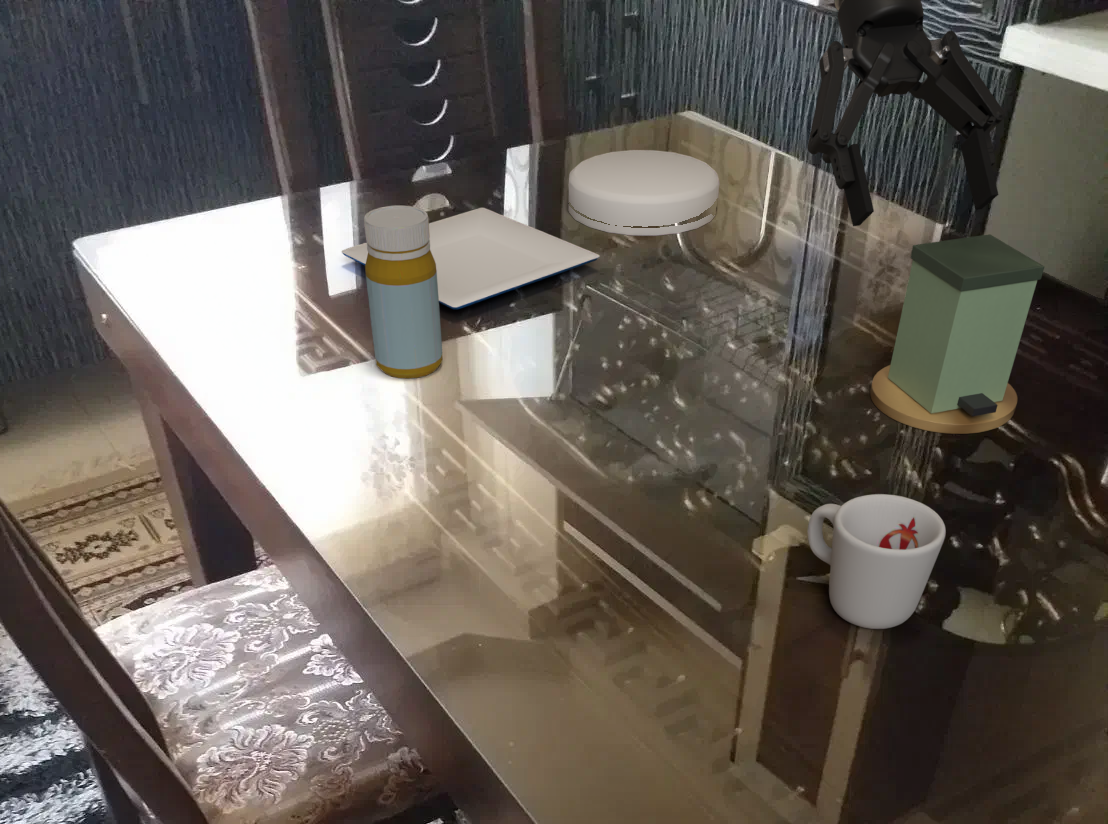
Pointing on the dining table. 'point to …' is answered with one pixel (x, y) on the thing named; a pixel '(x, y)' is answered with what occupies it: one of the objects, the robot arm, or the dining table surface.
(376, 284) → the bottle
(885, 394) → the disc
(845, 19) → the robot arm
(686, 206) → the container
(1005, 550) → the dining table surface
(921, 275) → the bin
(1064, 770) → the dining table surface
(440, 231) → the plate
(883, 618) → the cup
